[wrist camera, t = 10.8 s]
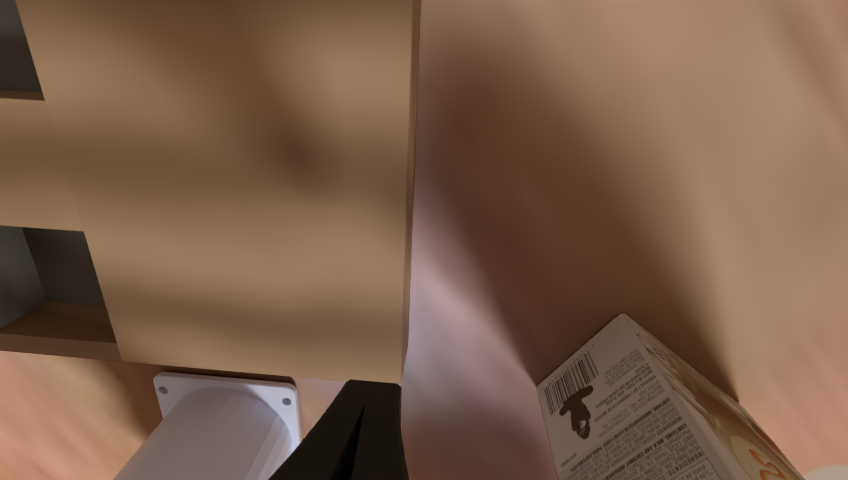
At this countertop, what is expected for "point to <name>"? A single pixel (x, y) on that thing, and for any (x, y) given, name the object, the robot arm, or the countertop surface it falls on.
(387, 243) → the trap board
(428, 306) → the countertop surface
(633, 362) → the coffee box
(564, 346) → the countertop surface
